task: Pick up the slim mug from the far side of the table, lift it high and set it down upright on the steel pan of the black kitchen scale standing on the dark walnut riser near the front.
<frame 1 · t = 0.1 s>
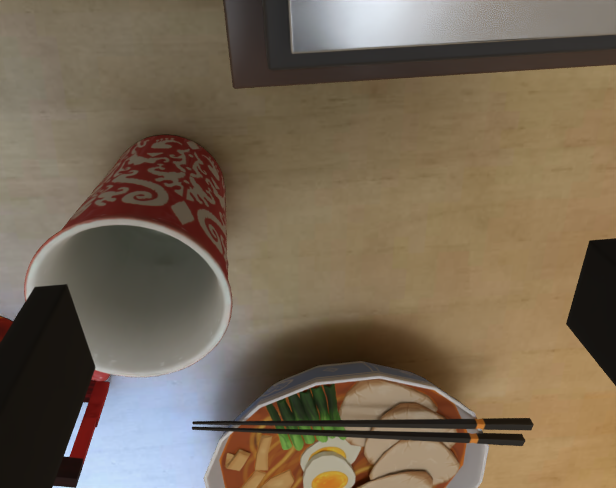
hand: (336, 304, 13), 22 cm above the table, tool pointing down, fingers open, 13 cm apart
mug: (10, 351, 41), on the table
ramen bowl: (335, 406, 48), on the table
mug 2: (159, 203, 36), on the table
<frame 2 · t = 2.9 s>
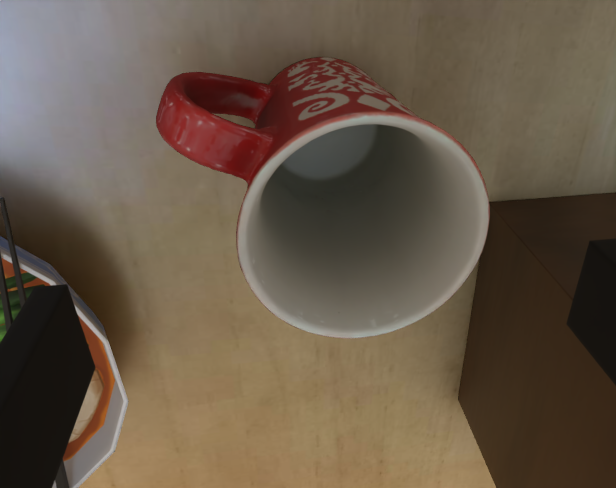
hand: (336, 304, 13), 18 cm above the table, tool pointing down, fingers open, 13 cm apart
mug 2: (295, 104, 29), on the table
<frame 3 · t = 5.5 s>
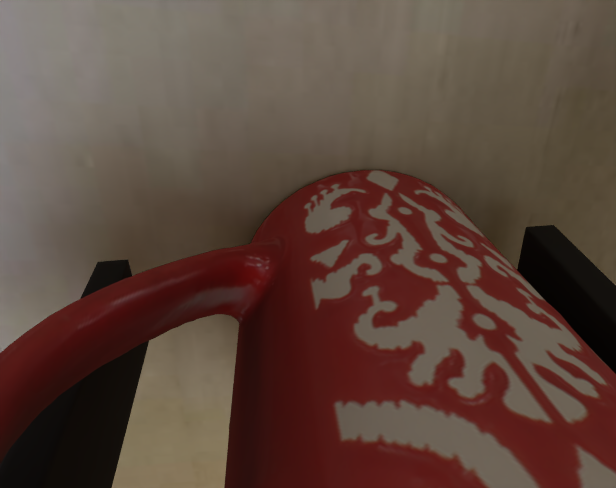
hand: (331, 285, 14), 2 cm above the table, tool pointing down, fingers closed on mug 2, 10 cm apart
mug 2: (315, 245, 16), on the table, touching gripper
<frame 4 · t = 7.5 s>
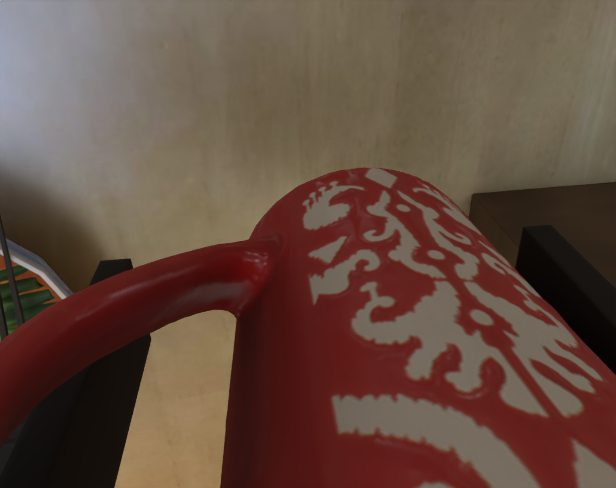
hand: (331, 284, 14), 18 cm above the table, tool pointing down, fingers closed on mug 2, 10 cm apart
riser: (598, 289, 39), on the table
mug 2: (313, 242, 16), point 16 cm above the table, touching gripper
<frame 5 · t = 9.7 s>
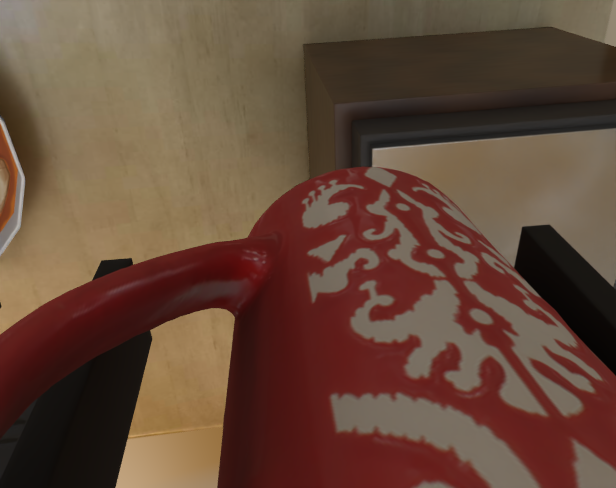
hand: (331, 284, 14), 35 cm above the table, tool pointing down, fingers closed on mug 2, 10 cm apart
riser: (422, 135, 50), on the table
mug 2: (312, 241, 16), point 33 cm above the table, touching gripper
kitchen scale: (501, 226, 34), resting on riser
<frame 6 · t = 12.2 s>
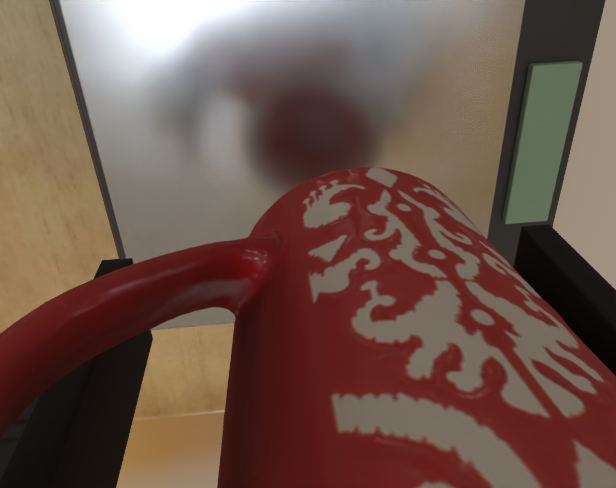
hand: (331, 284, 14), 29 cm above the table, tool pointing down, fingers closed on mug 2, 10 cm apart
riser: (302, 58, 39), on the table
mug 2: (312, 241, 16), point 27 cm above the table, touching gripper
kitchen scale: (333, 139, 24), resting on riser
when the fingers open (23 cm above the table, at t = 14.2 s): mug 2 stays where it is, resting on kitchen scale.
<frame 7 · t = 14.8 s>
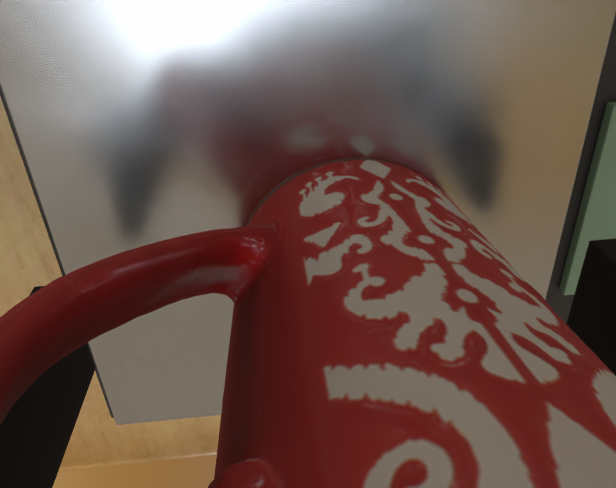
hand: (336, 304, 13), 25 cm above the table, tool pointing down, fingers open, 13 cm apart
mug 2: (309, 232, 16), point 21 cm above the table, touching kitchen scale
kitchen scale: (349, 189, 19), resting on riser
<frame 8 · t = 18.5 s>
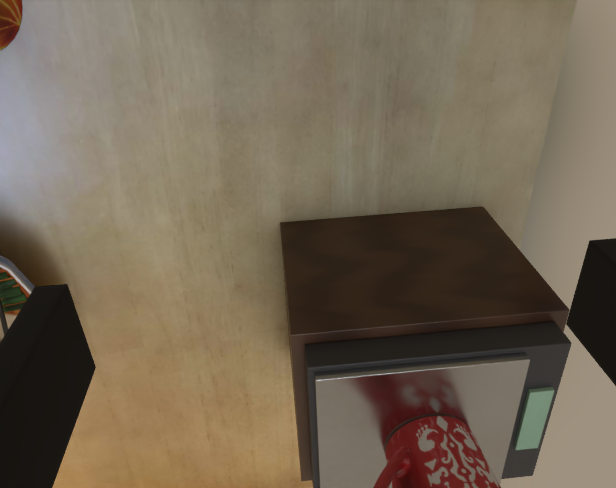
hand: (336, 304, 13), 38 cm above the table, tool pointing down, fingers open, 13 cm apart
riser: (380, 283, 60), on the table
mug 2: (412, 435, 42), point 21 cm above the table, touching kitchen scale
kitchen scale: (423, 403, 45), resting on riser
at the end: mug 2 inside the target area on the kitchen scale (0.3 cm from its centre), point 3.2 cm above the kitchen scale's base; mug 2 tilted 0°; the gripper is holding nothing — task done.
